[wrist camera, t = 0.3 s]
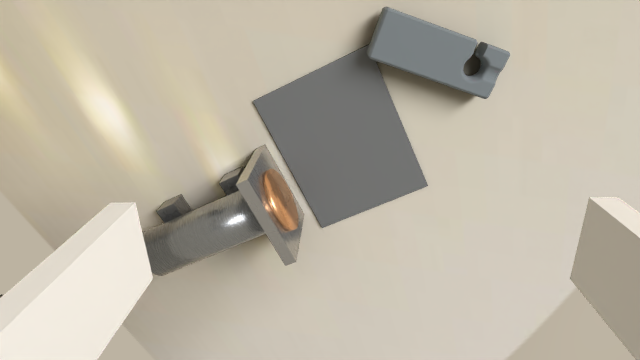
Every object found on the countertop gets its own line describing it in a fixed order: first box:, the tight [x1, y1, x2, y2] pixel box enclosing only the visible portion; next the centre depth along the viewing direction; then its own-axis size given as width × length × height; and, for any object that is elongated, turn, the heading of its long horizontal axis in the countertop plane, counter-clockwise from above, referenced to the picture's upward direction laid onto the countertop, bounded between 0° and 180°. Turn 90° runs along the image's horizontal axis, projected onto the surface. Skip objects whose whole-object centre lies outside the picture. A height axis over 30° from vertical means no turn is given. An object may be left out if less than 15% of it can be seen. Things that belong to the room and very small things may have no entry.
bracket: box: [367, 7, 510, 99], centre depth 33 cm, size 4×10×2 cm, turn 72°
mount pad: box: [253, 45, 428, 228], centre depth 38 cm, size 14×11×1 cm
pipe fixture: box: [143, 145, 304, 276], centre depth 38 cm, size 8×13×8 cm, turn 116°
